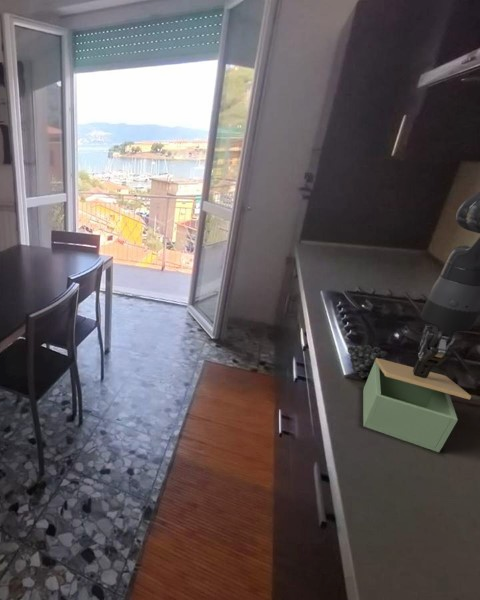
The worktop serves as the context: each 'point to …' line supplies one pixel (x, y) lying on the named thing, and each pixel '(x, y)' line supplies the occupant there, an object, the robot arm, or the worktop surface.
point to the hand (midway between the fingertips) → (419, 375)
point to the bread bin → (407, 410)
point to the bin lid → (431, 382)
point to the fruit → (365, 358)
